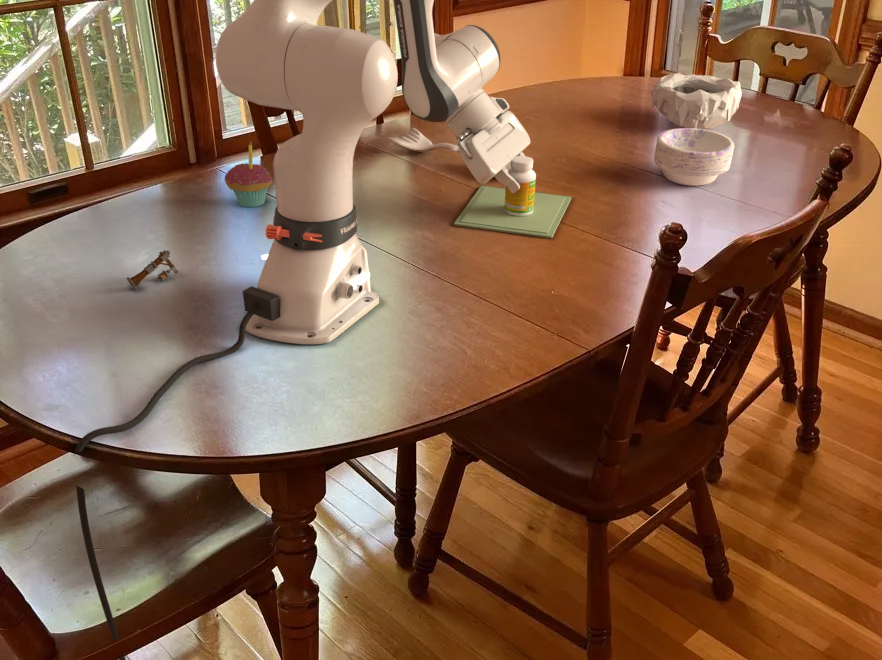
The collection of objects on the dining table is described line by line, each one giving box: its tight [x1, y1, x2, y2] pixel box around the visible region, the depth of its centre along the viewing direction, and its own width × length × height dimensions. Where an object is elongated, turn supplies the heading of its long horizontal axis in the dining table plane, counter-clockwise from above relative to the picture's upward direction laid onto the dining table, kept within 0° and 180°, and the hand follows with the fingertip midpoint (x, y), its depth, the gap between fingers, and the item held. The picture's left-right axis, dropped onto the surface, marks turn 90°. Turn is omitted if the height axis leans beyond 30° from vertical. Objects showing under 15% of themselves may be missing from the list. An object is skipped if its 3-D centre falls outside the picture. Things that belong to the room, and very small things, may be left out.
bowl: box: [650, 72, 743, 130], centre depth 213 cm, size 21×20×10 cm
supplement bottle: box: [504, 155, 537, 216], centre depth 167 cm, size 5×5×10 cm
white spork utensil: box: [387, 127, 512, 171], centre depth 191 cm, size 9×32×4 cm, turn 52°
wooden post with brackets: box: [125, 249, 179, 291], centre depth 145 cm, size 2×8×4 cm, turn 131°
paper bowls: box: [653, 127, 735, 187], centre depth 185 cm, size 15×15×8 cm
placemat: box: [453, 184, 572, 239], centre depth 171 cm, size 20×18×1 cm
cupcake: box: [224, 140, 273, 208], centre depth 169 cm, size 9×8×12 cm
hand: (524, 184), depth 167 cm, fingers closed on supplement bottle, 5 cm apart
